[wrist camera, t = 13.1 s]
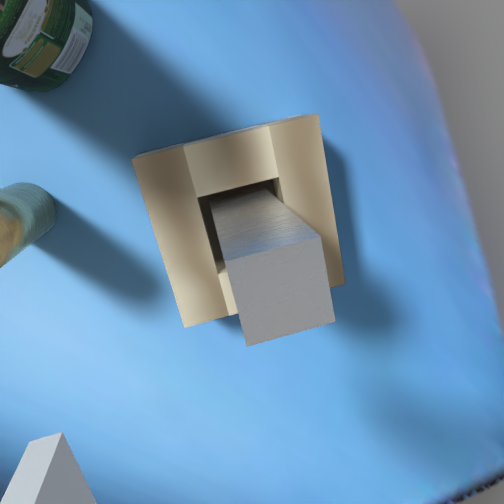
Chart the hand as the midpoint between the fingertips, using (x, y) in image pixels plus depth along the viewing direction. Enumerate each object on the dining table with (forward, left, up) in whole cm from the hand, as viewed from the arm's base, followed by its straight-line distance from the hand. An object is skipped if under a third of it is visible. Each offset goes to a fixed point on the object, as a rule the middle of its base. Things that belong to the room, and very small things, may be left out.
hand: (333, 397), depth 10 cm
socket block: (0, 0, -23) cm, 23 cm away
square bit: (0, 0, -21) cm, 21 cm away
